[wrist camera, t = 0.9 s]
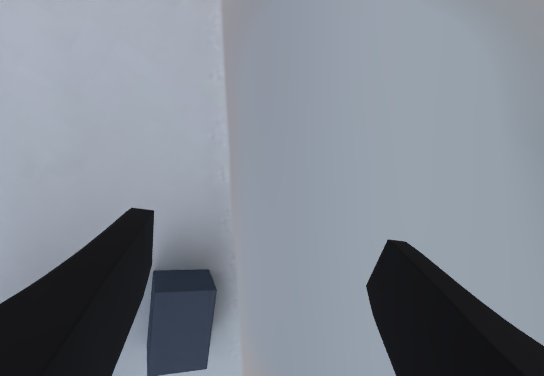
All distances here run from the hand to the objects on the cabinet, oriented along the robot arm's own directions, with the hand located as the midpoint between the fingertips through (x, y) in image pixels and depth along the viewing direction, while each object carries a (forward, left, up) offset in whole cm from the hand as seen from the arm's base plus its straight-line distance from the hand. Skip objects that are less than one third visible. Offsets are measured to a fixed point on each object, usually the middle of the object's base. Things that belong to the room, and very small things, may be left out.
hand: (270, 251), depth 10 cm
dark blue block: (-13, 0, -18) cm, 22 cm away
